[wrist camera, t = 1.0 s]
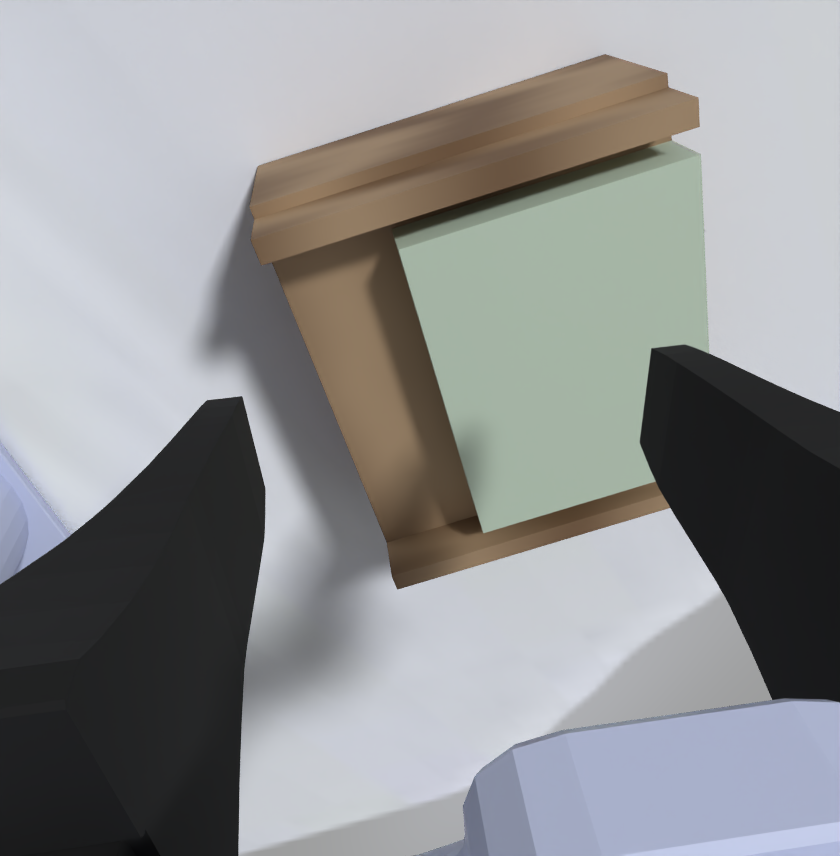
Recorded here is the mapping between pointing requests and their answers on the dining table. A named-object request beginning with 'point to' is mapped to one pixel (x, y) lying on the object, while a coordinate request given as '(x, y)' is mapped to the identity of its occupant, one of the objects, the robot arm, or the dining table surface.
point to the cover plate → (559, 324)
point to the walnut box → (390, 295)
